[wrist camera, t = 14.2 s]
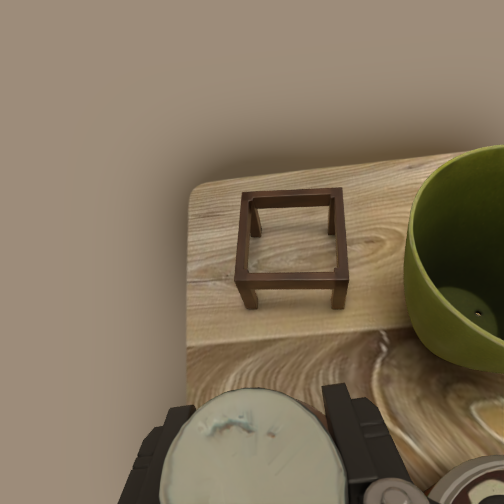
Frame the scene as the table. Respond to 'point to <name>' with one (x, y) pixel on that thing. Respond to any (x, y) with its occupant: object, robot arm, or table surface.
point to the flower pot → (459, 261)
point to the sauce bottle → (254, 454)
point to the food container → (470, 481)
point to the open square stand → (301, 280)
